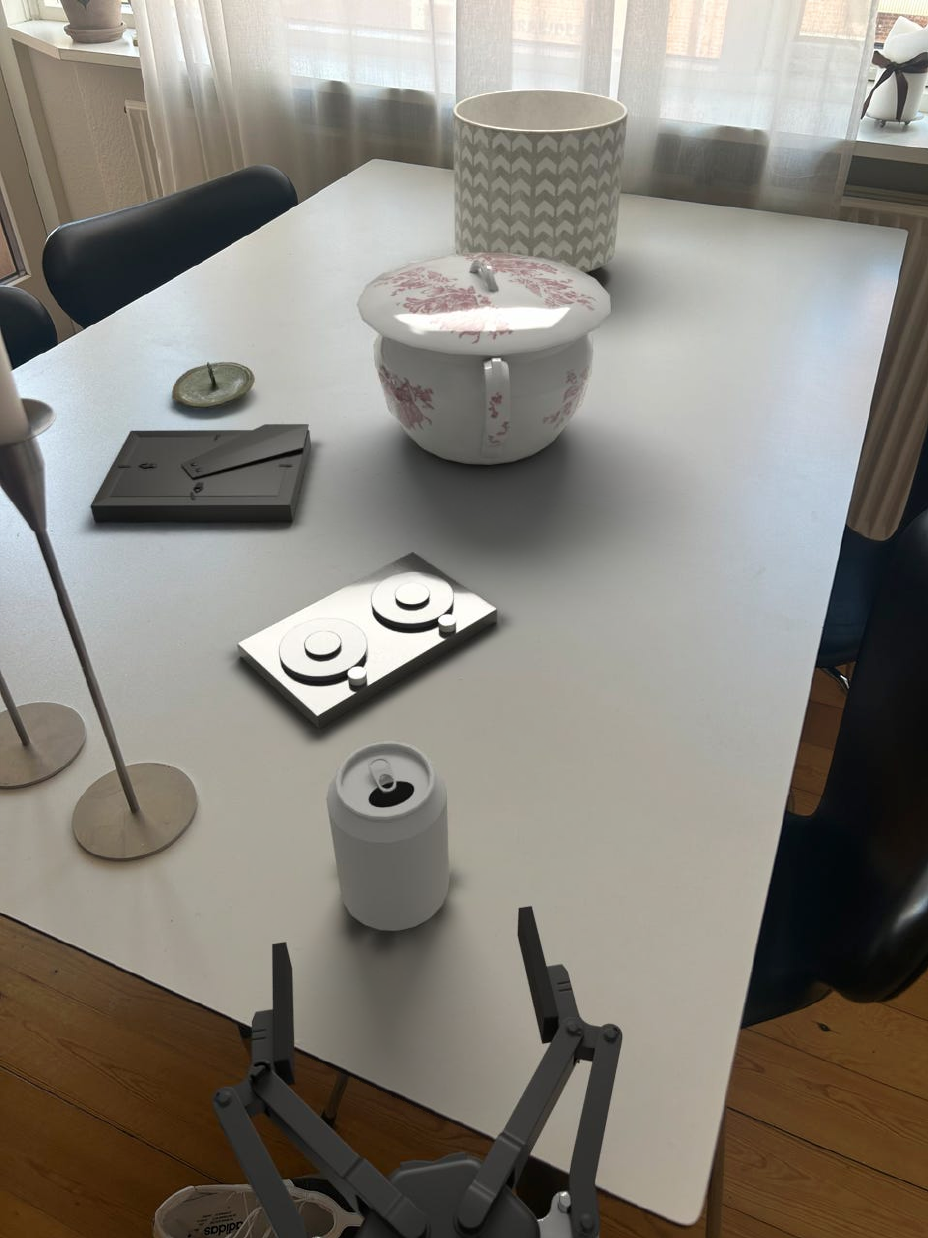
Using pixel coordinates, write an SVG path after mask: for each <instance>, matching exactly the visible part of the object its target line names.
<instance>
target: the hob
mask: <svg viewBox="0 0 928 1238" xmlns="http://www.w3.org/2000/svg"><path fill="white" fill-rule="evenodd" d="M496 622H498V608H496V607H495V606H494V605H492V604H491V603H489V602H487V600H484V599H483V598H482V597H480V596H479V595H477V594H476V593H474V592H473V591H472V590H470V589H468V588H467V587H466V586H464V585H463V584H461V583H460V582H458V581H457V580H455V579H453V577H450V576H449V575H448V574H447V573H445V572H444V571H442V570H441V569H439V568H438V567H436V566H435V565H433V564H432V563H430V562H429V561H427V560H426V559H424V558H423V557H421V556H420V555H418V554H417V553H415V552H414V551H411V552H409V553H408V554H407V553H406V555H404V556H401V557H399V558H398V559H395V560H394V561H392V562H390V563H388V564H386V565H384V566H383V567H381V568H379V569H377V570H375V571H373V572H371V573H369V574H367V575H365V576H363V577H362V578H360V579H358V580H356V581H354V582H351V583H350V584H348V585H346V586H344V587H342V588H340V589H338V590H337V591H335V592H333V593H331V594H329V595H327V596H325V597H323V598H321V599H319V600H317V601H315V602H314V603H312V604H309V605H308V606H306V607H304V608H302V609H301V610H298V611H296V612H295V613H293V614H291V615H289V616H287V617H285V618H283V619H281V620H279V621H277V622H276V623H274V624H272V625H269V626H268V627H265V628H264V629H262V630H260V631H258V632H256V633H255V634H252V635H251V636H249V637H247V638H244V639H243V640H241V641H239V642H237V644H236V645H237V649H238V650H237V651H238V654H239V657H240V658H242V660H243V661H244V662H245V663H246V664H248V665H249V666H250V667H251V668H252V669H253V670H254V671H255V672H256V673H257V674H258V675H260V676H261V677H262V678H263V679H264V680H265V681H266V682H267V683H268V684H270V685H271V686H272V687H273V689H275V690H276V691H277V692H278V694H281V696H283V698H284V699H286V700H287V701H288V702H289V703H290V704H291V705H292V706H293V707H294V708H296V710H298V711H299V712H300V713H301V714H302V715H303V716H304V717H306V718H307V720H309V721H310V722H311V723H312V724H313V725H314V726H315V727H316V728H317V729H318V730H320V729H322V728H324V727H325V726H326V725H328V724H330V723H332V722H333V721H335V720H336V719H338V718H340V717H341V716H343V715H344V714H347V713H348V712H350V711H351V710H353V709H354V708H356V707H358V706H360V705H361V704H363V703H364V702H366V701H368V700H369V699H371V698H373V697H374V696H376V695H378V694H379V693H381V692H383V691H384V690H386V689H388V688H389V687H391V686H392V685H394V684H396V683H397V682H400V681H401V680H403V679H404V678H406V677H407V676H409V675H411V674H413V673H414V672H416V671H417V670H419V669H421V668H422V667H424V666H426V665H427V664H429V663H431V662H433V661H434V660H436V659H438V658H439V657H440V656H443V655H444V654H446V653H448V652H449V651H451V650H452V649H454V648H455V647H457V646H459V645H460V644H462V643H464V642H465V641H467V640H469V639H470V638H472V637H473V636H475V635H477V634H478V633H480V632H482V631H483V630H485V629H486V628H488V627H490V626H492V625H493V624H495V623H496Z"/></svg>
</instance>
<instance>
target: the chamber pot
mask: <svg viewBox="0 0 928 1238" xmlns="http://www.w3.org/2000/svg"><path fill="white" fill-rule="evenodd" d="M356 306H357V307H356V308H357V309H358V312H359V315H360V318H361V321H363V322H364V323H365V324H366V325H368V326H369V327H370V328H372V329H373V330H374V331H375V332H376V333H377V334H376V337H375V340H374V342H373V358H374V367H375V370H376V374H377V377H378V378H377V379H378V381H379V384H380V388H381V392H382V396H383V398H384V400H385V401H384V402H385V404H386V406H387V409H388V412H389V413H390V414H391V415H392V417H393V418H394V419H395V421H396V422H397V423H398V424H399V425H400V427H401V429H403V431H404V432H405V433H406V434H407V436H408V437H409V438H410V439H412V441H414V442H415V444H417V445H418V446H419V447H420V448H422V449H423V450H424V451H425V452H428V453H429V454H432V455H434V456H437V457H438V458H440V459H443V460H446V461H447V460H448V461H451V462H455V463H461V464H465V465H484V466H485V465H489V466H490V465H499V464H506V463H513V462H516V461H520V460H522V459H525V458H529V457H532V456H534V455H535V454H537V453H539V452H540V451H542V450H543V449H545V448H546V447H548V446H549V445H550V444H552V443H554V441H555V440H556V439H557V437H558V436H559V435H560V433H562V431H563V430H564V428H566V426H567V425H568V424H569V422H570V421H572V419H573V417H574V416H575V415H576V413H577V412H578V410H579V409H580V407H581V406H582V405H583V402H584V399H585V396H586V393H587V389H588V386H589V383H590V380H591V376H592V374H593V373H592V372H593V361H594V336H593V334H592V332H594V331H596V330H597V329H600V327H601V326H602V324H603V323H604V322H605V320H606V319H607V318H608V317H609V315H610V314H611V313H612V304H611V295H610V293H609V292H608V291H607V290H606V289H605V288H604V287H603V286H602V284H601V283H600V282H599V281H598V280H597V279H596V278H595V277H593V276H591V275H589V274H588V273H587V272H585V273H584V272H582V271H580V270H578V269H576V268H574V267H572V266H568V265H565V264H562V263H558V262H555V261H551V260H548V259H545V258H538V257H531V256H524V255H517V254H511V253H464V254H456V253H455V254H443V255H437V256H432V257H428V258H423V259H418V260H413V261H409V262H406V263H404V264H401V265H398V266H396V267H394V268H391V269H388V270H385V271H383V272H382V273H381V274H379V275H377V276H376V277H375V278H374V279H373V280H371V281H370V282H369V283H367V284H366V285H365V286H364V287H363V289H362V291H361V293H360V295H359V297H358V300H357V302H356Z"/></svg>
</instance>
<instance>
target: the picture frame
mask: <svg viewBox="0 0 928 1238" xmlns="http://www.w3.org/2000/svg"><path fill="white" fill-rule="evenodd" d="M309 427H310V426H309V423H271V424H269V423H264V424H262V425H260V426H259V427H255V428H254V429H194V430H193V429H187V430H186V429H184V430H183V429H182V430H181V429H176V430H175V429H173V430H171V429H170V430H168V429H167V430H130V431H129V433H128V435H127V437H126V438H125V440H124V441H123V444H122V446H121V448H120V450H119V452H118V453H117V455H116V457H115V459H114V461H113V462H112V465H111V467H110V468H109V469H108V472H107V474H106V476H105V477H104V480H103V481H102V483H101V485H100V486H99V488H98V491H97V492H96V494H95V496H94V498H93V500H92V502H91V504H90V505H89V507H90V510H91V513H92V517H93V520H94V523H240V522H241V523H259V522H260V523H264V522H265V523H270V522H271V523H273V522H276V523H279V522H280V523H283V522H284V523H285V522H287V523H288V522H289V523H290V522H291V523H292V522H293V521H294V517H295V513H296V509H297V505H298V500H299V496H300V492H301V488H302V484H303V480H304V476H305V472H306V467H307V463H308V459H309V455H310V452H311V447H312V441H311V434H310V429H309Z"/></svg>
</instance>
